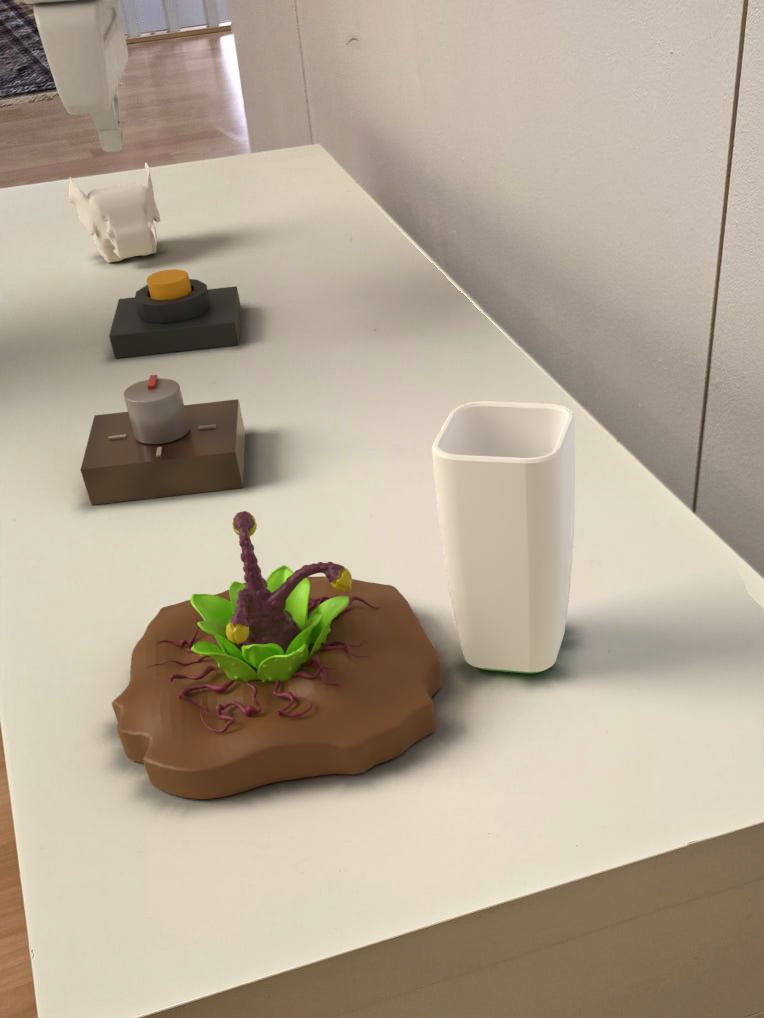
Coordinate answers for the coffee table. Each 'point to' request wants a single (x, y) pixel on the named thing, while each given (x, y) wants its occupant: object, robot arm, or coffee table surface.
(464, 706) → the coffee table surface
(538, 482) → the cup
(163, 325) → the button housing
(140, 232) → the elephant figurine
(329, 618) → the plant
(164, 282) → the button
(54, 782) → the coffee table surface
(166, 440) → the dial
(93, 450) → the dial panel
